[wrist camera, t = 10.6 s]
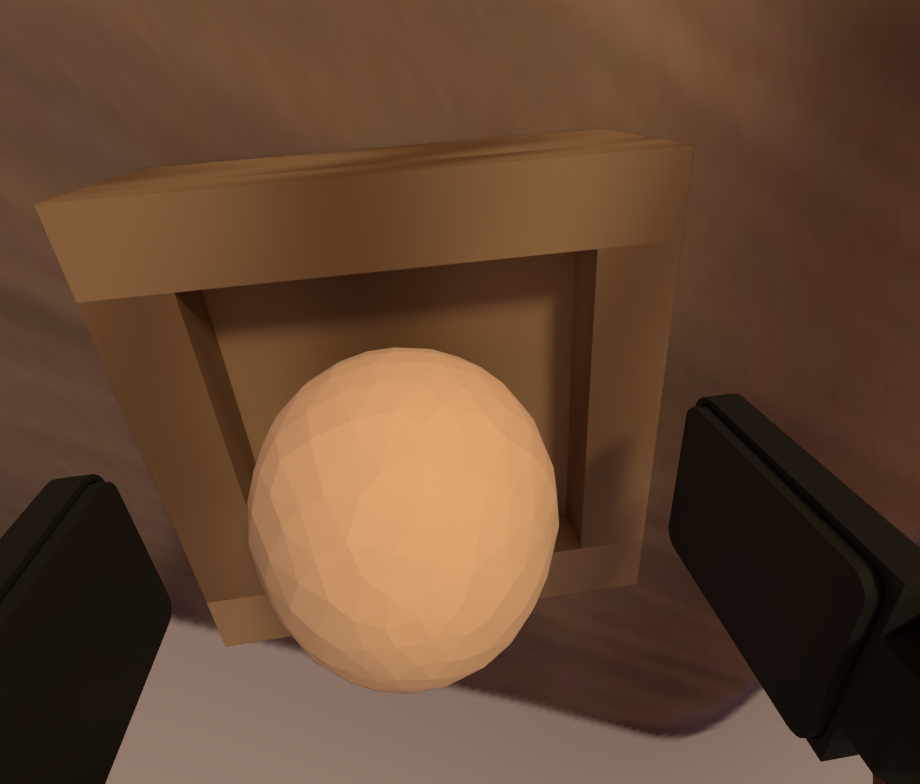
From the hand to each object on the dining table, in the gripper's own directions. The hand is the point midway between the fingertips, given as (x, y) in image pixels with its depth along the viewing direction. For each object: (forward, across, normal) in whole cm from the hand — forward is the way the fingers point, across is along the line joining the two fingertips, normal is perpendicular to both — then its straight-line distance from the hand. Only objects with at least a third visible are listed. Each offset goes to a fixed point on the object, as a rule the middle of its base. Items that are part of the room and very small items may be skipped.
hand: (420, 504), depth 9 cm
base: (+6, 0, 0) cm, 6 cm away
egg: (+3, 0, 0) cm, 3 cm away
